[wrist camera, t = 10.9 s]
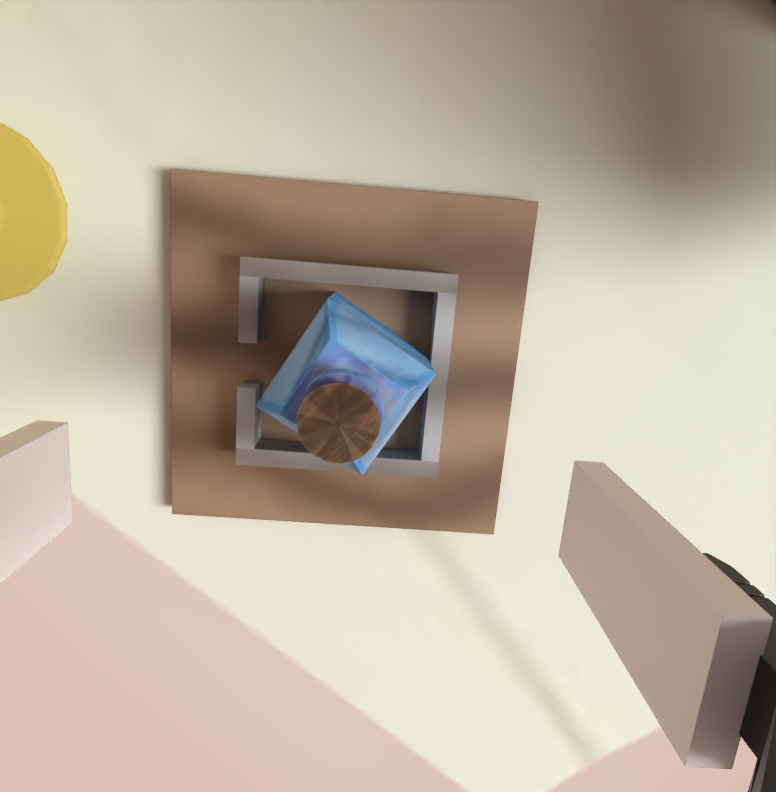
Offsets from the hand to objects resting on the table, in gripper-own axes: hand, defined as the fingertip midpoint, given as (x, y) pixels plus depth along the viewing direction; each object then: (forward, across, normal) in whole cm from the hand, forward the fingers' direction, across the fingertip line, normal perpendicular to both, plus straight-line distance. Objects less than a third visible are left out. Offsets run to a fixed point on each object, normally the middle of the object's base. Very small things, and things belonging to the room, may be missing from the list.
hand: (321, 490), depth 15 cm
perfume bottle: (+19, 0, 0) cm, 19 cm away
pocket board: (+20, -1, 0) cm, 20 cm away
